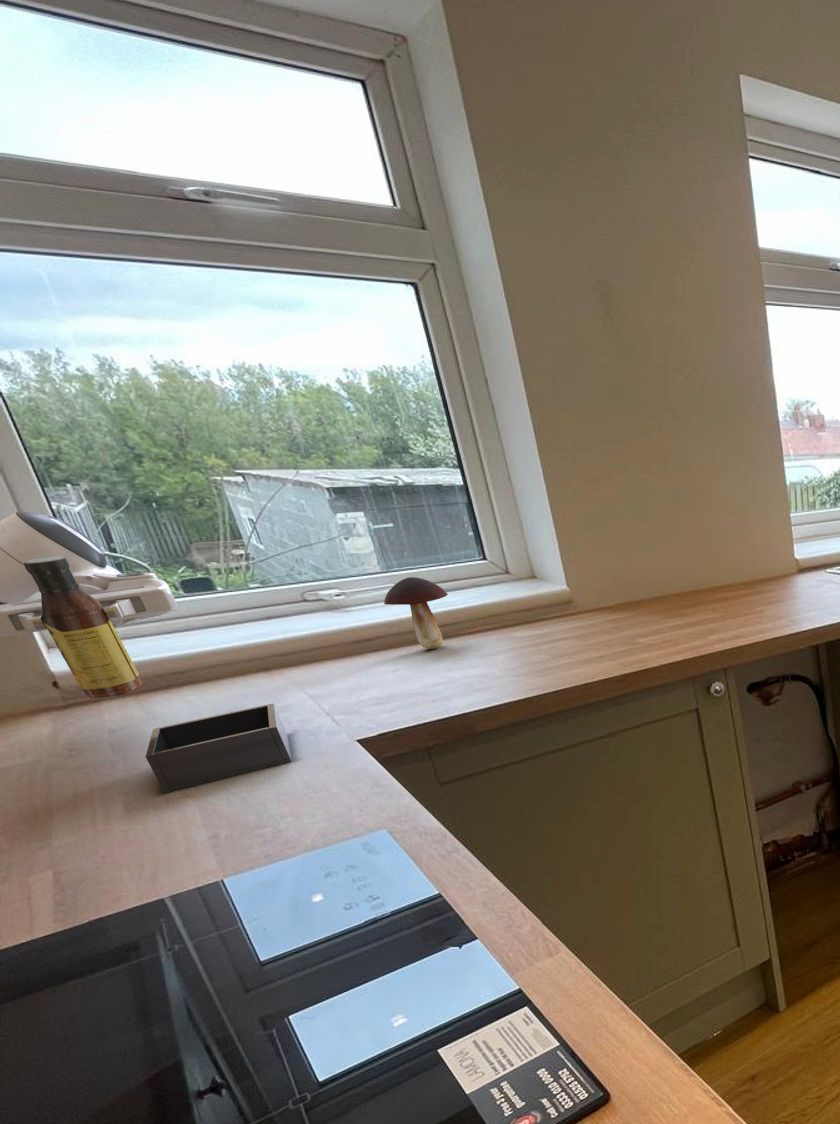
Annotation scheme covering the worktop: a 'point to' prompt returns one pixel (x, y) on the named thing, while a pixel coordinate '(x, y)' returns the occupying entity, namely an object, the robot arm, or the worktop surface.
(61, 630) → the sauce bottle
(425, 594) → the decorative mushroom
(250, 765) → the open rectangular box
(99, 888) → the worktop surface
